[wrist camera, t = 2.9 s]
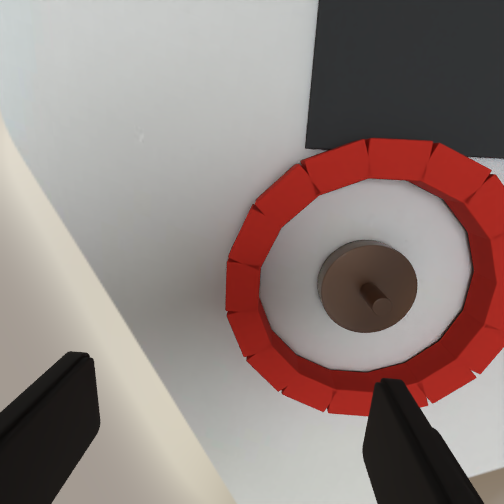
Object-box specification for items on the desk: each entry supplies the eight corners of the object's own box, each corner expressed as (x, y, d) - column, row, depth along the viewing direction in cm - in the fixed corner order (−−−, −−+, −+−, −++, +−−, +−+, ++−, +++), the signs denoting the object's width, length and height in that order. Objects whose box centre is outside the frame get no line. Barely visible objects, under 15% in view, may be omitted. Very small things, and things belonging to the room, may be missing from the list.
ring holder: (313, 319, 23) (322, 350, 19) (322, 237, 21) (335, 252, 17) (398, 325, 22) (426, 357, 19) (415, 242, 21) (449, 259, 17)
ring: (226, 384, 25) (222, 405, 22) (234, 134, 19) (230, 130, 17) (465, 402, 24) (484, 425, 22) (544, 149, 18) (580, 147, 16)
